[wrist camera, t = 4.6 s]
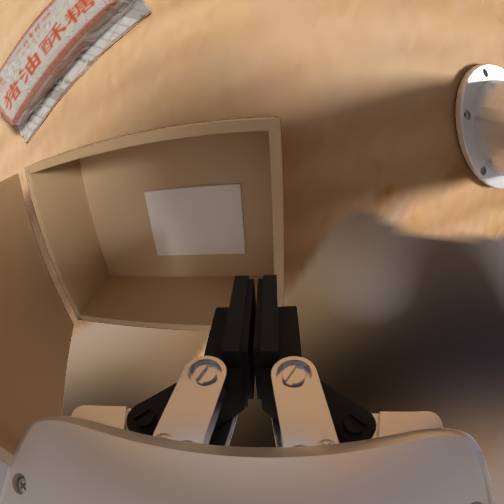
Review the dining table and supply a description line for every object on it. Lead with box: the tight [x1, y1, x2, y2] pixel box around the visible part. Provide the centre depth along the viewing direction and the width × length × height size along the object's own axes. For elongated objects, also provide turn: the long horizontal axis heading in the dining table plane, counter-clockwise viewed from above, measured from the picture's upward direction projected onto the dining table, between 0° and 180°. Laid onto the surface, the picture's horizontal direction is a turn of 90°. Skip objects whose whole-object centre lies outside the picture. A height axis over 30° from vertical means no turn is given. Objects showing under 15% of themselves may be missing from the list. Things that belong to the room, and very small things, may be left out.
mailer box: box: [25, 117, 284, 331], centre depth 20 cm, size 18×14×7 cm
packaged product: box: [0, 0, 152, 143], centre depth 13 cm, size 18×5×10 cm
